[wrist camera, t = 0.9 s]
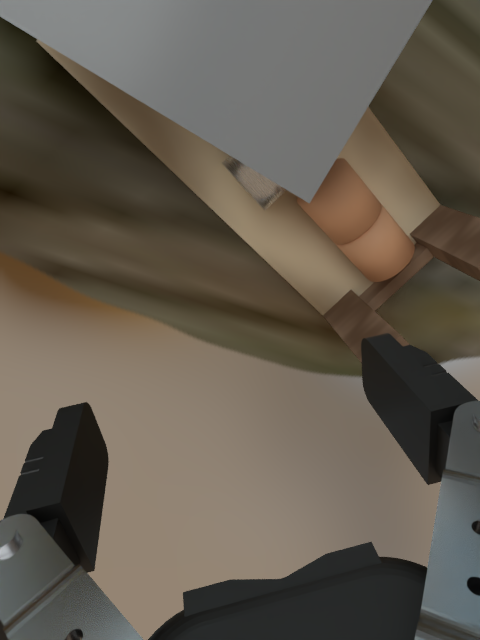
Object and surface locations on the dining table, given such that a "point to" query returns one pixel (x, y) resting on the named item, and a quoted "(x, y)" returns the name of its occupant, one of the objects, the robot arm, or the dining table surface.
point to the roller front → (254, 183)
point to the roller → (359, 224)
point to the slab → (239, 68)
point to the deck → (295, 224)
